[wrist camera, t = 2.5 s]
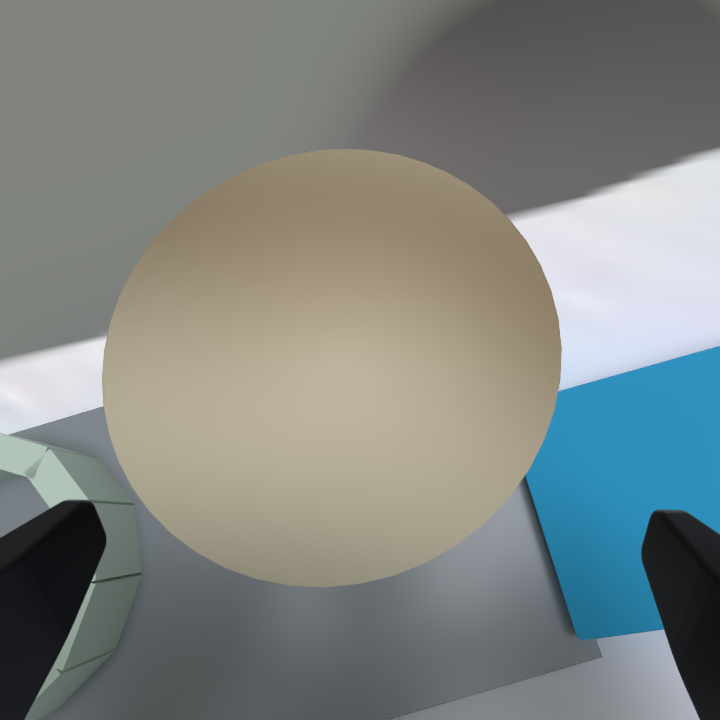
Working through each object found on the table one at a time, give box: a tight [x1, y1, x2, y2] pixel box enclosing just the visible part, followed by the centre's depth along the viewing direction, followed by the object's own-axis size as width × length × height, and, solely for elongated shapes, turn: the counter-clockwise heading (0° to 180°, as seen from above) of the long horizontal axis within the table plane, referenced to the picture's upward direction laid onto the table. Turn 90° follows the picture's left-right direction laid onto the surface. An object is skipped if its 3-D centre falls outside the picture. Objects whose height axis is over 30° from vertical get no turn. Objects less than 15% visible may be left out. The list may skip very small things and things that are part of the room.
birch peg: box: [102, 149, 561, 587], centre depth 11 cm, size 5×5×12 cm
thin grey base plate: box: [0, 406, 602, 720], centre depth 15 cm, size 22×12×4 cm, turn 106°
